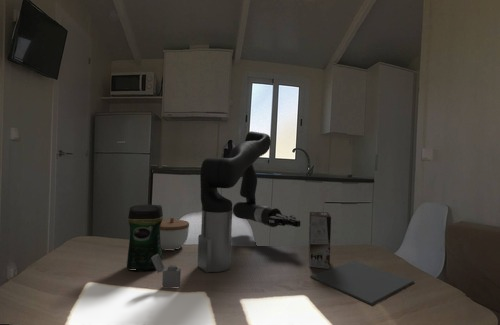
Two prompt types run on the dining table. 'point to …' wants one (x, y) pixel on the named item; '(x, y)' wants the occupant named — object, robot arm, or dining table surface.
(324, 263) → the coffee box
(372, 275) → the rubber mat
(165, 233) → the lidded bowl
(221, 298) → the dining table surface
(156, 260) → the lighter
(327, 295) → the dining table surface
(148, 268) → the coffee jar
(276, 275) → the dining table surface
